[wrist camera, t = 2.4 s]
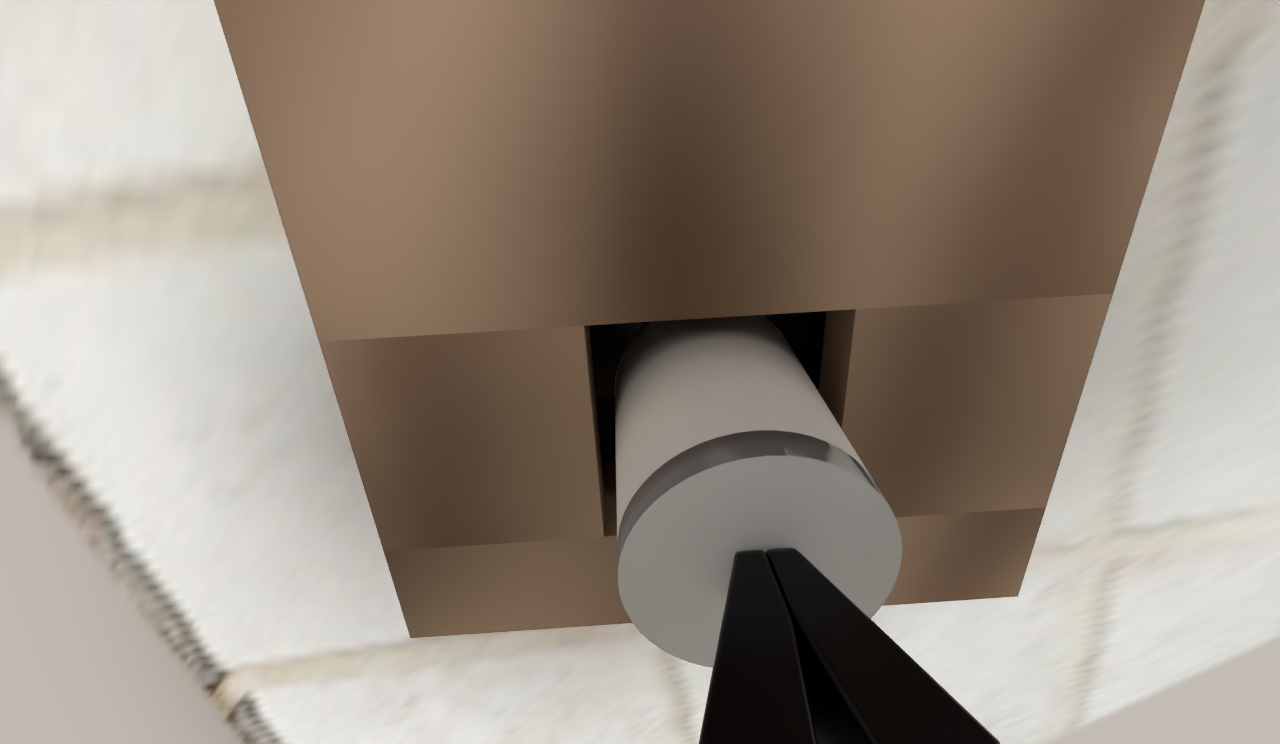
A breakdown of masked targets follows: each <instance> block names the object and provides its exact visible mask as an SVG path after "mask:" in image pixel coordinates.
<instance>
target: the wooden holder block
mask: <svg viewBox="0 0 1280 744" xmlns="http://www.w3.org/2000/svg"><path fill="white" fill-rule="evenodd" d="M214 2H215V6H216V9H217V12H218V15H219V19H220V22H221V25H222V28H223V32H224V35H225V38H226V41H227V45H228V48H229V51H230V54H231V58H232V61H233V64H234V67H235V70H236V74H237V77H238V80H239V83H240V87H241V90H242V93H243V96H244V100H245V103H246V106H247V109H248V113H249V116H250V119H251V122H252V126H253V129H254V132H255V135H256V139H257V142H258V145H259V148H260V152H261V155H262V158H263V161H264V164H265V168H266V171H267V174H268V177H269V181H270V184H271V187H272V190H273V194H274V197H275V200H276V203H277V207H278V210H279V213H280V216H281V220H282V223H283V226H284V229H285V233H286V236H287V239H288V242H289V246H290V249H291V252H292V255H293V258H294V262H295V265H296V268H297V271H298V275H299V278H300V281H301V284H302V288H303V291H304V294H305V297H306V301H307V304H308V307H309V310H310V314H311V317H312V320H313V323H314V327H315V330H316V333H317V336H318V340H319V343H320V346H321V349H322V352H323V356H324V359H325V362H326V365H327V369H328V372H329V375H330V378H331V382H332V385H333V388H334V391H335V395H336V398H337V401H338V404H339V408H340V411H341V414H342V417H343V421H344V424H345V427H346V430H347V434H348V437H349V440H350V443H351V446H352V450H353V453H354V456H355V459H356V463H357V466H358V469H359V472H360V476H361V479H362V482H363V485H364V489H365V492H366V495H367V498H368V502H369V505H370V508H371V511H372V515H373V518H374V521H375V524H376V528H377V531H378V534H379V537H380V540H381V544H382V547H383V550H384V553H385V557H386V560H387V563H388V566H389V570H390V573H391V576H392V579H393V583H394V586H395V589H396V592H397V596H398V599H399V602H400V605H401V609H402V612H403V615H404V618H405V622H406V625H407V628H408V631H409V634H410V638H419V637H433V636H448V635H462V634H477V633H491V632H506V631H520V630H535V629H549V628H564V627H578V626H593V625H607V624H622V623H632V621H631V619H630V618H629V616H628V614H627V613H626V611H625V609H624V606H623V603H622V601H621V598H620V593H619V587H618V565H617V499H616V461H608V462H602V459H601V448H600V437H599V426H598V415H597V404H596V393H595V382H594V371H593V360H592V349H591V338H590V327H589V325H603V324H620V323H636V322H653V321H669V320H686V319H702V318H719V317H735V316H752V315H768V314H785V313H801V312H818V311H826V321H825V331H824V342H823V352H822V363H821V373H820V384H819V394H820V395H821V397H822V398H823V400H824V402H825V403H826V405H827V406H828V408H829V410H830V411H831V413H832V414H833V416H834V418H835V419H836V421H837V423H838V424H839V426H840V427H841V429H842V431H843V432H844V434H845V435H846V437H847V439H848V440H849V442H850V443H851V445H852V447H853V448H854V450H855V451H856V453H857V455H858V456H859V458H860V460H861V461H862V463H863V464H864V466H865V468H866V469H867V471H868V472H869V474H870V476H871V477H872V479H873V480H874V482H875V484H876V485H877V487H878V488H879V490H880V492H881V493H882V495H883V497H884V498H885V500H886V501H887V503H888V505H889V506H890V508H891V509H892V512H893V514H894V516H895V518H896V520H897V522H898V526H899V530H900V534H901V540H902V557H901V565H900V569H899V572H898V576H897V579H896V581H895V583H894V586H893V588H892V590H891V592H890V594H889V595H888V597H887V598H886V600H885V602H884V603H883V605H898V604H912V603H927V602H941V601H956V600H970V599H985V598H999V597H1014V596H1018V594H1019V591H1020V588H1021V584H1022V581H1023V578H1024V575H1025V572H1026V568H1027V565H1028V562H1029V559H1030V556H1031V553H1032V549H1033V546H1034V543H1035V540H1036V537H1037V533H1038V530H1039V527H1040V524H1041V521H1042V518H1043V514H1044V511H1045V508H1046V505H1047V502H1048V498H1049V495H1050V492H1051V489H1052V486H1053V483H1054V479H1055V476H1056V473H1057V470H1058V467H1059V463H1060V460H1061V457H1062V454H1063V451H1064V448H1065V444H1066V441H1067V438H1068V435H1069V432H1070V428H1071V425H1072V422H1073V419H1074V416H1075V413H1076V409H1077V406H1078V403H1079V400H1080V397H1081V393H1082V390H1083V387H1084V384H1085V381H1086V378H1087V374H1088V371H1089V368H1090V365H1091V362H1092V358H1093V355H1094V352H1095V349H1096V346H1097V343H1098V339H1099V336H1100V333H1101V330H1102V327H1103V323H1104V320H1105V317H1106V314H1107V311H1108V308H1109V304H1110V301H1111V298H1112V295H1113V292H1114V288H1115V285H1116V282H1117V279H1118V276H1119V273H1120V269H1121V266H1122V263H1123V260H1124V257H1125V253H1126V250H1127V247H1128V244H1129V241H1130V238H1131V234H1132V231H1133V228H1134V225H1135V222H1136V218H1137V215H1138V212H1139V209H1140V206H1141V203H1142V199H1143V196H1144V193H1145V190H1146V187H1147V183H1148V180H1149V177H1150V174H1151V171H1152V168H1153V164H1154V161H1155V158H1156V155H1157V152H1158V148H1159V145H1160V142H1161V139H1162V136H1163V133H1164V129H1165V126H1166V123H1167V120H1168V117H1169V113H1170V110H1171V107H1172V104H1173V101H1174V98H1175V94H1176V91H1177V88H1178V85H1179V82H1180V78H1181V75H1182V72H1183V69H1184V66H1185V63H1186V59H1187V56H1188V53H1189V50H1190V47H1191V43H1192V40H1193V37H1194V34H1195V31H1196V28H1197V24H1198V21H1199V18H1200V15H1201V12H1202V8H1203V5H1204V2H1205V0H214ZM883 605H882V606H883Z"/></svg>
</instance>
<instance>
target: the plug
mask: <svg viewBox="0 0 1280 744" xmlns="http://www.w3.org/2000/svg"><path fill="white" fill-rule="evenodd" d="M615 434H616V499H617V565H618V587H619V593H620V598H621V601H622V603H623V606H624V609H625V611H626V613H627V614H628V616H629V618H630V619H631V621H632V623H633V624H634V625H635V626H636V627H637V629H638V630H639V631H640V632H641V633H642V634H643V635H644V636H645V637H646V638H647V639H648V640H649V641H651V642H652V643H653V644H655V645H656V646H658V647H659V648H661V649H662V650H664V651H666V652H668V653H670V654H671V655H673V656H675V657H678V658H680V659H683V660H686V661H688V662H691V663H695V664H699V665H702V666H707V667H713V666H714V661H715V655H716V650H717V645H718V640H719V634H720V629H721V624H722V618H723V613H724V608H725V603H726V597H727V592H728V587H729V582H730V576H731V571H732V566H733V560H734V556H735V553H736V552H738V551H745V550H763V551H764V552H766V551H767V550H768V549H774V548H789V547H791V548H795V549H797V550H798V551H799V552H800V553H801V554H802V555H803V556H804V557H806V558H807V559H808V560H809V561H810V562H811V563H812V564H813V565H814V566H815V567H816V568H817V569H818V570H819V571H820V572H821V573H822V574H823V575H824V576H826V577H827V578H828V579H829V580H830V581H831V582H832V583H833V584H834V585H835V586H836V587H837V588H838V589H839V590H840V591H841V592H842V593H843V594H845V595H846V596H847V597H848V598H849V599H850V600H851V601H852V602H853V603H854V604H855V605H856V606H857V607H858V608H859V609H860V610H861V611H862V612H863V613H865V614H866V615H867V616H868V617H869V618H870V619H871V618H872V617H873V616H874V614H875V613H876V612H877V611H878V610H879V608H880V607H881V606H882V605H883V603H884V602H885V600H886V598H887V597H888V595H889V594H890V592H891V590H892V588H893V586H894V583H895V581H896V579H897V576H898V572H899V569H900V565H901V557H902V540H901V534H900V530H899V526H898V522H897V520H896V518H895V516H894V514H893V512H892V509H891V508H890V506H889V505H888V503H887V501H886V500H885V498H884V497H883V495H882V493H881V492H880V490H879V488H878V487H877V485H876V484H875V482H874V480H873V479H872V477H871V476H870V474H869V472H868V471H867V469H866V468H865V466H864V464H863V463H862V461H861V460H860V458H859V456H858V455H857V453H856V451H855V450H854V448H853V447H852V445H851V443H850V442H849V440H848V439H847V437H846V435H845V434H844V432H843V431H842V429H841V427H840V426H839V424H838V423H837V421H836V419H835V418H834V416H833V414H832V413H831V411H830V410H829V408H828V406H827V405H826V403H825V402H824V400H823V398H822V397H821V395H820V394H819V392H818V390H817V389H816V387H815V386H814V384H813V382H812V381H811V379H810V377H809V376H808V374H807V373H806V371H805V369H804V368H803V366H802V365H801V363H800V361H799V360H798V358H797V357H796V355H795V353H794V352H793V350H792V348H791V347H790V345H789V344H788V342H787V341H786V339H785V338H784V336H783V335H782V333H781V332H780V331H779V330H778V329H777V328H776V327H775V326H774V325H773V324H772V323H771V322H770V321H768V320H767V319H766V318H764V317H763V316H761V315H752V316H735V317H719V318H702V319H686V320H669V321H653V322H650V323H649V324H647V325H646V326H645V327H644V328H643V329H642V330H641V331H640V332H639V333H638V334H637V335H636V336H635V337H634V338H633V340H632V341H631V342H630V344H629V345H628V347H627V348H626V350H625V351H624V354H623V356H622V358H621V360H620V362H619V366H618V369H617V372H616V379H615Z"/></svg>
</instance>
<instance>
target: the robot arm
mask: <svg viewBox="0 0 1280 744" xmlns="http://www.w3.org/2000/svg"><path fill="white" fill-rule="evenodd" d="M699 744H1000V742H999V741H998V740H997V739H996V738H995V737H994V736H993V735H992V734H991V733H990V732H989V731H988V730H987V729H986V728H985V727H984V726H982V725H981V724H980V723H979V722H978V721H977V720H976V719H975V718H974V717H973V716H972V715H971V714H970V713H969V712H968V711H967V710H966V709H965V708H964V707H962V706H961V705H960V704H959V703H958V702H957V701H956V700H955V699H954V698H953V697H952V696H951V695H950V694H949V693H948V692H947V691H946V690H945V689H944V688H942V687H941V686H940V685H939V684H938V683H937V682H936V681H935V680H934V679H933V678H932V677H931V676H930V675H929V674H928V673H927V672H926V671H925V670H923V669H922V668H921V667H920V666H919V665H918V664H917V663H916V662H915V661H914V660H913V659H912V658H911V657H910V656H909V655H908V654H907V653H906V652H905V651H903V650H902V649H901V648H900V647H899V646H898V645H897V644H896V643H895V642H894V641H893V640H892V639H891V638H890V637H889V636H888V635H887V634H886V633H885V632H883V631H882V630H881V629H880V628H879V627H878V626H877V625H876V624H875V623H874V622H873V621H872V620H871V619H870V618H869V617H868V616H867V615H866V614H865V613H863V612H862V611H861V610H860V609H859V608H858V607H857V606H856V605H855V604H854V603H853V602H852V601H851V600H850V599H849V598H848V597H847V596H846V595H845V594H843V593H842V592H841V591H840V590H839V589H838V588H837V587H836V586H835V585H834V584H833V583H832V582H831V581H830V580H829V579H828V578H827V577H826V576H824V575H823V574H822V573H821V572H820V571H819V570H818V569H817V568H816V567H815V566H814V565H813V564H812V563H811V562H810V561H809V560H808V559H807V558H806V557H804V556H803V555H802V554H801V553H800V552H799V551H798V550H797V549H795V548H791V547H789V548H774V549H768V550H767V551H766V552H764V551H763V550H745V551H738V552H736V553H735V556H734V560H733V566H732V571H731V576H730V582H729V587H728V592H727V597H726V603H725V608H724V613H723V618H722V624H721V629H720V634H719V640H718V645H717V650H716V655H715V661H714V666H713V671H712V676H711V682H710V687H709V692H708V698H707V703H706V708H705V713H704V719H703V724H702V729H701V735H700V740H699Z"/></svg>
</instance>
